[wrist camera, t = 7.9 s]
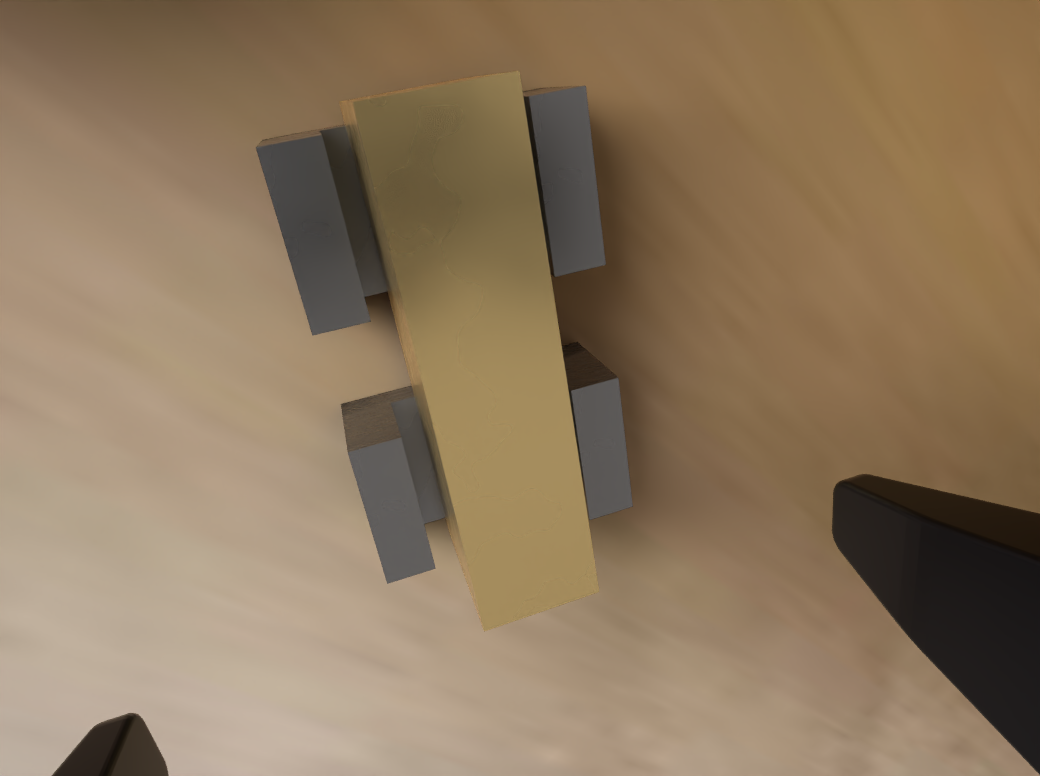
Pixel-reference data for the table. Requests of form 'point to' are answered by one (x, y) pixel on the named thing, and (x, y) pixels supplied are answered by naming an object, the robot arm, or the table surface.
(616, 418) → the bracket
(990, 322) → the table surface
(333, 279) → the near chain end
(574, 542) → the tan rectangular block
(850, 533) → the robot arm
